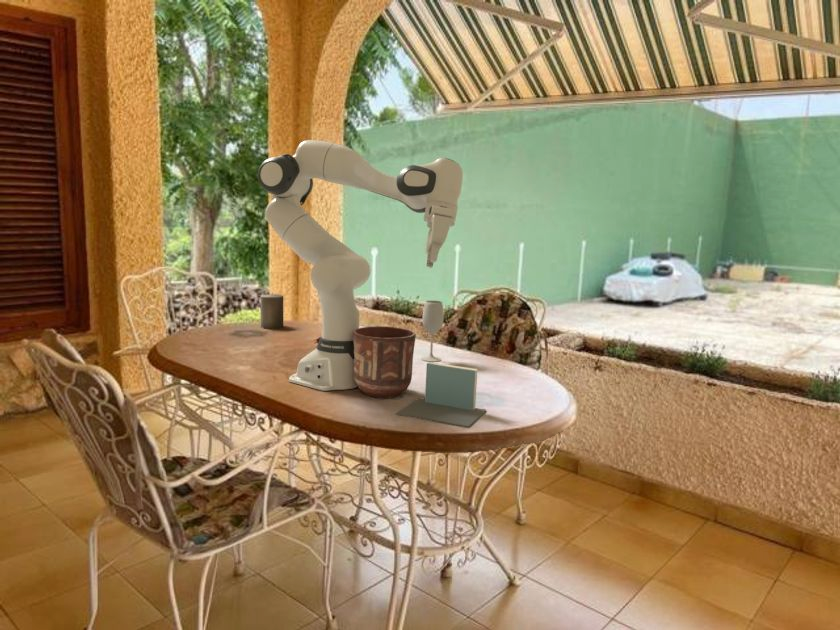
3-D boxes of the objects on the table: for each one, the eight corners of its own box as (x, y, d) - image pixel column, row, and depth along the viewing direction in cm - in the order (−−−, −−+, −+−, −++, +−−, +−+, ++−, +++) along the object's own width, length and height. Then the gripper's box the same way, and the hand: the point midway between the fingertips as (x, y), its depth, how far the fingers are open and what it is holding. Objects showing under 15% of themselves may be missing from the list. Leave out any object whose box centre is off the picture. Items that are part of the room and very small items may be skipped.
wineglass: (422, 362, 219) (425, 303, 216) (418, 356, 227) (421, 299, 223) (443, 361, 221) (446, 303, 217) (438, 356, 228) (441, 300, 225)
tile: (424, 402, 173) (426, 363, 171) (427, 400, 175) (429, 362, 173) (472, 410, 167) (475, 370, 166) (475, 408, 169) (477, 369, 167)
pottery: (380, 380, 194) (382, 323, 191) (424, 392, 183) (427, 332, 180) (339, 391, 180) (340, 330, 177) (383, 405, 169) (386, 340, 166)
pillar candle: (286, 328, 268) (286, 293, 265) (264, 329, 263) (264, 294, 260) (278, 324, 276) (279, 290, 273) (257, 325, 271) (257, 291, 268)
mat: (395, 414, 163) (395, 412, 162) (418, 399, 176) (418, 398, 176) (468, 427, 155) (468, 426, 155) (486, 411, 169) (486, 409, 168)
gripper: (425, 222, 184) (416, 268, 183) (433, 204, 164) (423, 255, 162) (446, 227, 184) (437, 272, 183) (456, 209, 164) (447, 260, 163)
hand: (431, 264), depth 172 cm, fingers open, 8 cm apart
